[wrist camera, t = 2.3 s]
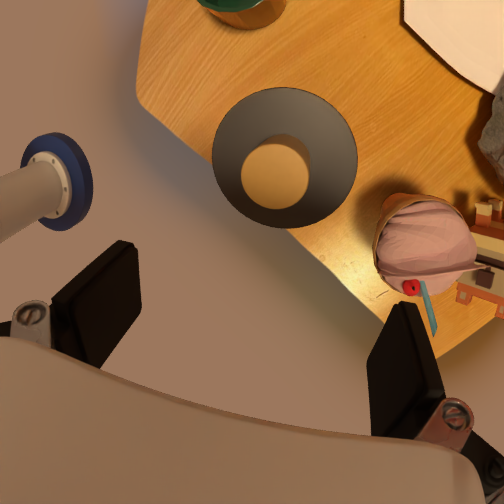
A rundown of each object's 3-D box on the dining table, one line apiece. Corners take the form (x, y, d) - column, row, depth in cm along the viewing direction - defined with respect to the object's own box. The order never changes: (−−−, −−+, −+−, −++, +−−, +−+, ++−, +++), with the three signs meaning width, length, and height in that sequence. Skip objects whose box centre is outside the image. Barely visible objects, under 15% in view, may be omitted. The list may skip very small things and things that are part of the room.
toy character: (531, 221, 20) (505, 332, 24) (540, 208, 30) (526, 285, 33) (458, 204, 28) (441, 307, 31) (491, 196, 37) (481, 270, 41)
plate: (426, -77, 17) (430, -82, 16) (548, 17, 18) (554, 16, 16) (379, 27, 29) (382, 24, 27) (513, 125, 29) (521, 127, 27)
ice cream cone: (438, 234, 39) (499, 323, 22) (369, 254, 43) (394, 356, 25) (424, 160, 35) (502, 214, 18) (348, 182, 39) (375, 252, 21)
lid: (211, 208, 25) (180, 242, 19) (225, 80, 20) (193, 73, 14) (338, 234, 24) (343, 277, 18) (367, 104, 19) (387, 105, 13)
